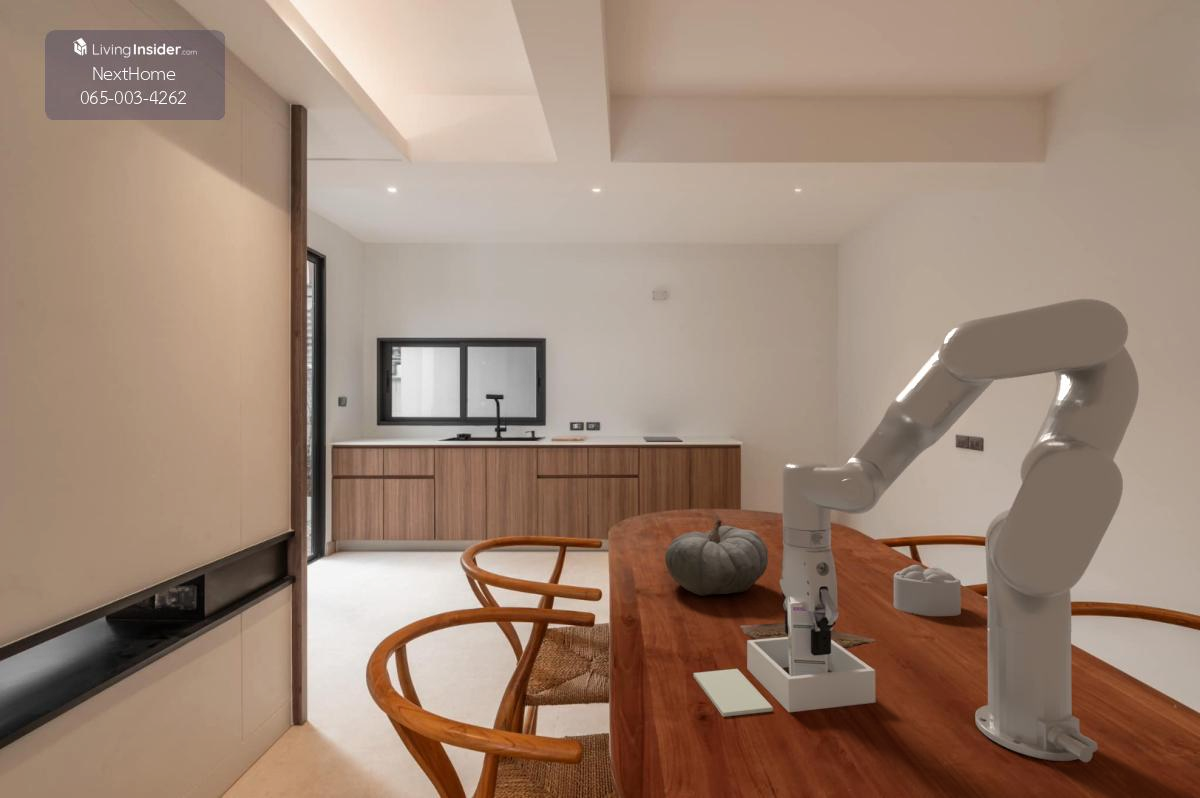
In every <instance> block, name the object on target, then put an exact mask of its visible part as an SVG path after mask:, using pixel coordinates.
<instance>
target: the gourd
mask: <svg viewBox="0 0 1200 798" xmlns="http://www.w3.org/2000/svg"><path fill="white" fill-rule="evenodd" d="M722 522H723V521H722V520H720V519H717V520H716V522H715V524H714V527H713V529H711V530H708V531H707V532H705V533H703V532H700V531H689V532H686V533H683V534H681V535H679V536H677V537H676V538H674V539H673V540H672V541H671V542H670V544H669V547H668V548H667V549H666V551H665V556H664V557H665V565H666V569H667V572H668V573H669V575H670V576H671V578H672V579H673V580H674V581H675V582H676V583H677V584H678V585H679V586H680V587H682V588H684V589H685V590H687V591H688V592H691V593H692V594H695V595H698V596H709V595H711V596H712V595H729V594H733V593H735V594H737V593H743V592H746V591H747V590H749V589H750V588H751V587H752V586H754V585H755V583H756V582H757V581H758V580H759V579H760V578H761V577H762V576H763V575H764V574H765V572H766V569H767V566H768V563H769V559H768V558H769V555H768V554H769V551H768V545H767V544H766V543H765V541H764V540H763V538H762V537H761V536H760V535H759V534H758V533H757V532H755V531H753V530H751V529H742V528H738V527H736V526H730V525H722Z"/></svg>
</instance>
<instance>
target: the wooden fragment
mask: <svg viewBox="0 0 1200 798" xmlns="http://www.w3.org/2000/svg"><path fill="white" fill-rule="evenodd" d="M739 629H740V630H741V631H742V632H743V633H744V635H747V636H748V637H750V638H751V639H754V640H758V639H770V638H781V637H788V635H787V634H786V633H785V622H775V623H765V624H764V623H763V624H751V625H749V624H748V625H740V626H739ZM831 640H833V641H834V642H836V643H837V644H838V645H840V646H841V647H843V648H844V649H846V648H851V647H854V646H857V645H859V644H865V643H867V644H871V643H875V642H876V641H877V639H874V638H871V637H870V638H868V637H865V636H862V635H856V634H852V633H847V632H842V631H837V630H834V629H833V630H831Z"/></svg>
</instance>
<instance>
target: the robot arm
mask: <svg viewBox="0 0 1200 798" xmlns="http://www.w3.org/2000/svg"><path fill="white" fill-rule="evenodd" d="M1128 335H1129V325H1128V322H1127V319H1126V317H1124V314H1123V313H1122V312H1121V311H1120V310H1119V309H1118V308H1117V307H1116V306H1114V305H1112V304H1110V303H1109V302H1107V301H1104V300H1100V299H1094V298H1093V299H1092V298H1080V299H1079V298H1077V299H1071V300H1066V301H1061V302H1057V303H1051V304H1047V305H1043V306H1038V307H1032V308H1028V309H1023V310H1018V311H1014V312H1009V313H1004V314H1003V313H1002V314H999V315H993V316H988V317H982V318H977V319H973V320H968V321H965V322H963V323H960V324H958V325H956V326H955V327H954V328H952V329H951V330H949V332H948V333H947V334H946V336H945V337H944V339H943V341H942V343H941V344H940V346H939V347H938V348H937V349H936V350H935V352H934V353H933V354H932V356H931V357H930V358H929V359H928V360H927V361H926V362H925V363H924V364H923V366H922V367H920V369H919V370H918V371H917V373H916V374H915V375H914V376H913V377H912V378H911V380H910V381H909V382H907V384H906V385H905V386H904V388H902V390H901V391H900V392H899V393H898V394H897V395H896V397H894V399H893V400H892V402H890V404H889V406H888V407H887V408H886V411H885V413H884V415H883V418H882V419H881V421H880V422H879V423H878V425H877V427H876V428H875V429H874V431H873V432H872V433H871V434H870V436H869V437H868V438H867V439H866V440H865V441H864V442H863V444H862V445H861V446H860V447H859V448H858V450H857V451H856V452H855V453H854V454H853V455H852V456H851V457H850V458H849V459H848V461H847V462H846V463H845V464H843V465H842V466H827V465H826V464H824V463H821V462H815V461H793V462H792V461H791V462H788V463H786V464H785V465H784V467H783V468H782V469H783V470H782V545H783V550H782V551H783V553H782V563H781V564H782V566H781V578H780V579H779V585H780V588H781V596H782V598H783V600H784V602H783V605H782V606H783V609H784V623H785V633H786V634H787V635H788V596H789V597H792V598H794V599H795V600H797V601H799V602H801V603H802V607H803V609H804V610H806V611H808V612H809V613H810V617H811V621H812V624H813V628H814V629H811V654H813V655H814V656H816V655H827V654H830V653H831V630H834V626H835V625H836V621H837V619H838V617H839V616H840V612H839V610H838V587H837V585H838V583H837V573H836V565H835V559H834V554H833V551H832V548H831V547H832V530H831V529H832V528H831V527H832V526H831V522H832V521H831V518H832V517H831V516H832V515H831V514H832V513H831V511H835V512H841V513H845V514H851V515H860V514H861V515H862V514H864V513H868V512H869V511H871V510H872V509H874V507H876V505H877V504H878V503H879V501H880V499H881V497H882V496H883V495H884V494H885V492H887V490H888V489H889V488H890V487H891V486H892V485H893V483H895V481H896V480H897V479H898V478H899V477H900V476H901V475H902V474H903V473H904V472H905V471H906V469H907V468H908V467H909V466H910V465H911V464H912V463H913V462H914V461H915V460H916V459H917V458H918V457H919V455H921V454H922V453H923V452H925V451H927V449H929V448H930V447H933V445H935V444H936V443H937V442H938V441H939V440H940V439H941V438H942V437H944V436H945V435H946V434H947V432H948V431H949V430H950V428H952V427H953V425H955V423H956V422H958V420H959V419H960V418H961V417H962V416H963V415H964V413H966V411H967V410H968V409H969V408H970V407H971V406H972V404H974V403H975V402H976V400H978V398H979V397H980V396H982V394H983V393H984V392H985V391H986V389H987V388H989V386H991V384H992V383H994V381H996V380H1005V379H1013V378H1021V377H1027V376H1035V375H1041V374H1047V373H1054V374H1055V378H1056V386H1055V387H1056V388H1055V393H1054V397H1053V398H1052V401H1051V403H1050V405H1049V408H1048V411H1047V414H1046V416H1045V418H1044V420H1043V421H1042V425H1040V428H1039V431H1038V432H1037V435H1036V436H1035V438H1034V441H1033V442H1032V444H1031V446H1030V448H1029V450H1028V452H1027V453H1026V455H1024V456H1025V457H1024V459H1023V460H1022V462H1021V466H1020V479H1021V481H1022V482H1021V483H1022V484H1021V486H1020V488H1019V490H1018V492H1017V494H1016V497H1014V501H1013V502H1012V505H1011V507H1010V509H1007V510H1004V511H1002V512H1000V513H998V515H996V516H995V517H994V518H993V519H992V520H991V522H990V523H989V524H988V527H987V530H986V533H985V541H984V542H985V543H984V544H985V546H984V547H985V548H984V549H985V561H986V563H985V564H986V567H985V568H986V586H987V587H986V589H987V590H986V591H987V595H986V596H987V597H986V599H987V617H986V618H987V620H986V621H987V623H986V624H987V625H986V626H987V704H986V705H983V706H981V707H979V708H978V709H977V710H975V717H974V718H975V719H974V720H975V725H976V726H977V728H978V729H979V731H981V733H983V734H984V735H985V737H987V738H988V739H990V740H991V741H993V742H995V743H997V744H998V745H1000V746H1002V747H1005V748H1006V749H1009V750H1011V751H1013V752H1017V753H1019V754H1022V755H1025V756H1028V757H1032V758H1037V759H1042V760H1047V761H1053V762H1054V761H1056V762H1071V761H1074V760H1080V761H1081V762H1083V763H1088V762H1091V759H1092V758H1093V753H1095V752H1096V751H1097V750H1098V742H1096V741H1095V740H1093V739H1092V738H1089V737H1088V736H1087V735H1086V736H1085V735H1083V734H1082V733H1081V731H1080V718H1077V717H1076V716H1074V715H1072V713H1073V712H1072V711H1073V710H1072V707H1073V706H1072V603H1071V602H1072V600H1071V589H1072V588H1073V587H1074V586H1075V585H1077V583H1079V581H1080V580H1081V579H1082V577H1083V576H1084V574H1085V572H1086V571H1087V569H1088V567H1089V565H1091V562H1092V560H1093V558H1094V555H1095V554H1096V552H1097V550H1098V548H1099V546H1100V545H1101V542H1102V540H1103V538H1104V536H1105V534H1106V533H1107V530H1108V529H1109V527H1110V525H1111V522H1112V521H1113V519H1114V516H1115V515H1116V513H1117V510H1118V507H1119V506H1120V503H1121V500H1122V495H1123V490H1124V489H1123V488H1124V479H1123V475H1122V472H1121V470H1120V468H1119V466H1118V465H1117V463H1116V462H1115V460H1114V459H1115V457H1116V454H1117V452H1118V450H1119V447H1120V446H1121V443H1122V441H1123V439H1124V438H1125V434H1126V431H1127V429H1128V428H1129V425H1130V423H1131V420H1132V417H1133V415H1134V413H1135V410H1136V406H1137V403H1138V400H1139V393H1140V392H1139V390H1140V389H1139V388H1140V384H1139V383H1140V381H1139V377H1138V371H1137V370H1136V369H1137V368H1136V366H1135V364H1134V361H1133V358H1132V357H1131V354H1130V353H1129V351H1128V350H1127V348H1126V347H1125V345H1126V342H1127V339H1128ZM821 604H823V606H824V609H815V606H818V605H821ZM817 614H823V617H822V618H821V620H820V621H818V617H817Z"/></svg>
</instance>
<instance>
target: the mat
mask: <svg viewBox="0 0 1200 798" xmlns="http://www.w3.org/2000/svg"><path fill="white" fill-rule="evenodd" d="M692 674H693V678H694V679H695V680H696V682H697V683H698V685H699V686H700V688H701V689H702V691H703V692H704V693H705V695H707V697H708V698H709V699H710V701H711V702H712V704H713V705H714V706H715V708H716V709H717V710H718V712H719V713H720V715H721V716H722V717H724V718H725V717H732V716H734V717H735V716H742V715H750V714H759V713H760V714H761V713H769V712H770V713H771V712H773V711H774V707H773V706H772V705H771V704H770V702H769V701H767V699H766V698H765V697H764V696H763V695H762V694H761V693H760V692H759V690H758V689H757V688H756V687H755V686H754V685H753V683H751V682H750V681H749V680H748V679H747V677H746V676H745V675H744V674H743V673H742V672H741V671H740V670H739V669H738V668H731V669H723V670H722V669H720V670H710V671H701V672H693V673H692Z"/></svg>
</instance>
